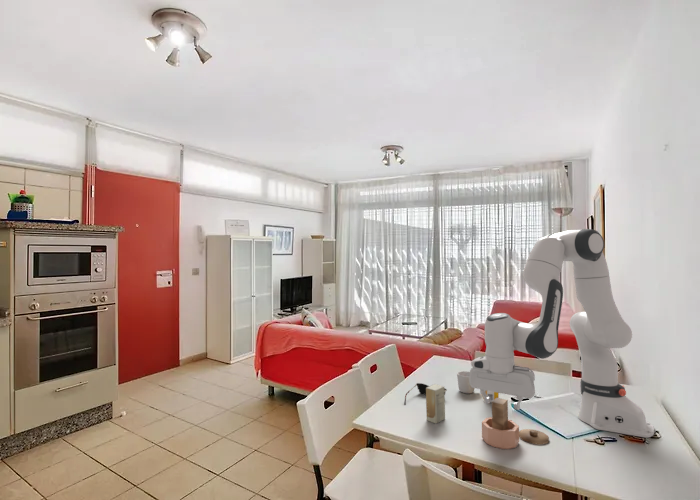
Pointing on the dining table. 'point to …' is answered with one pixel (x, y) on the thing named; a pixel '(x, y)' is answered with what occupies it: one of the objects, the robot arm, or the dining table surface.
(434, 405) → the skincare box
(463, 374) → the cup
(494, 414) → the brown wooden block
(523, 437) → the jar lid
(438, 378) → the dining table surface
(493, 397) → the beer can
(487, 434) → the jar
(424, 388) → the sunglasses
